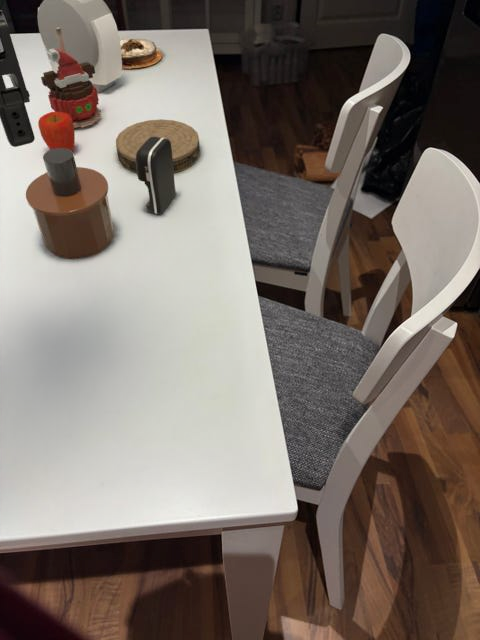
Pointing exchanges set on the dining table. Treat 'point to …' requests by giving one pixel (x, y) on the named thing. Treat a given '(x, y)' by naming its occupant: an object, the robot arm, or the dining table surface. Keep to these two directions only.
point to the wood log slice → (176, 132)
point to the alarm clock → (83, 36)
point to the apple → (57, 130)
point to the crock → (77, 231)
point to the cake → (72, 87)
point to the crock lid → (65, 186)
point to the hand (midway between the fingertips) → (10, 122)
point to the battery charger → (156, 172)
